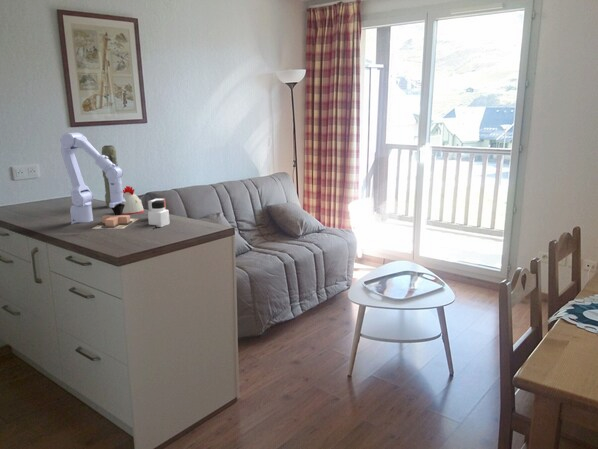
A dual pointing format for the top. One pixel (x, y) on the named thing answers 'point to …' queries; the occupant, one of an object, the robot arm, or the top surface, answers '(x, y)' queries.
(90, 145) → the robot arm
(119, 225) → the board
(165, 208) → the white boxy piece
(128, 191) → the kitchen timer
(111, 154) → the olive green tall block
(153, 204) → the medicine bottle
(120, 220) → the t block
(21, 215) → the top surface
